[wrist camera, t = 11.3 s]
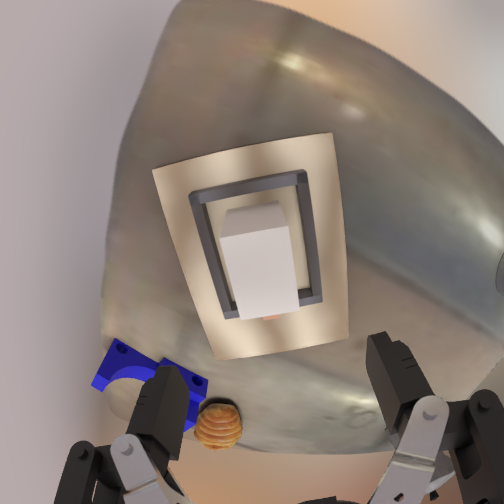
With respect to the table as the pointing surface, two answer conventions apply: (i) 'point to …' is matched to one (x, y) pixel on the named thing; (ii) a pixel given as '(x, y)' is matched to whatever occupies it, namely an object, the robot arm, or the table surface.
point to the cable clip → (147, 374)
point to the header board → (300, 229)
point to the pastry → (218, 427)
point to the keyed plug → (260, 260)
